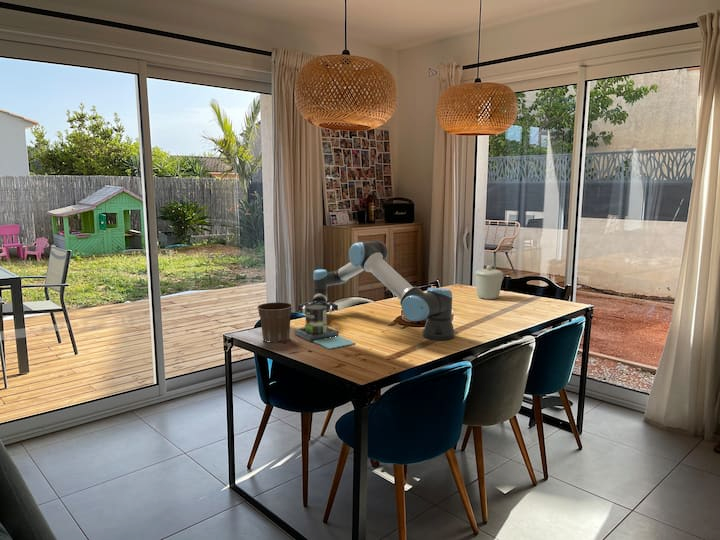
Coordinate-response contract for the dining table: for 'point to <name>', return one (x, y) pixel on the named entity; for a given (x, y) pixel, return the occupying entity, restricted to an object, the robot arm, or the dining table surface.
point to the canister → (488, 282)
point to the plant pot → (275, 321)
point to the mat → (334, 342)
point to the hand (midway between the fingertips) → (317, 311)
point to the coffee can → (316, 319)
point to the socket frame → (303, 334)
